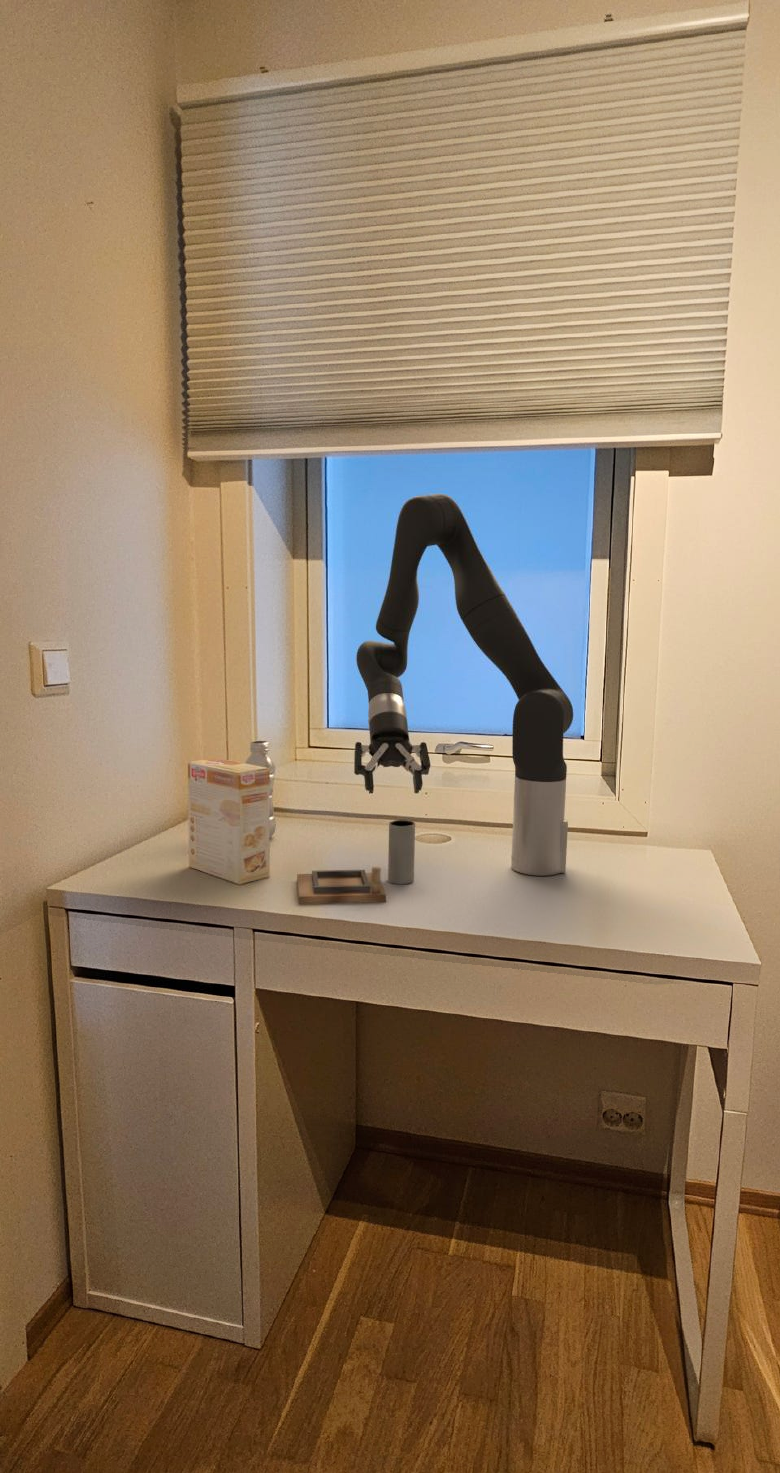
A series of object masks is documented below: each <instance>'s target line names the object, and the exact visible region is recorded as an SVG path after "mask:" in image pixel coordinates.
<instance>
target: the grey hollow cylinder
mask: <svg viewBox="0 0 780 1473" xmlns="http://www.w3.org/2000/svg"><path fill="white" fill-rule="evenodd" d="M415 845H416V822H414V821H411V820H408V819H407V820H405V819H397V820H396V819H395V820H391V821H390V822H389V823H388V857H387V858H388V861H387V862H388V864H387V865H388V866H387V867H388V868H387V880H388V882H389V883H392V884H395V885H408V884H412V883H413V882H414V880H415V854H416V852H415V851H416V850H415V849H416V847H415Z"/></svg>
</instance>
